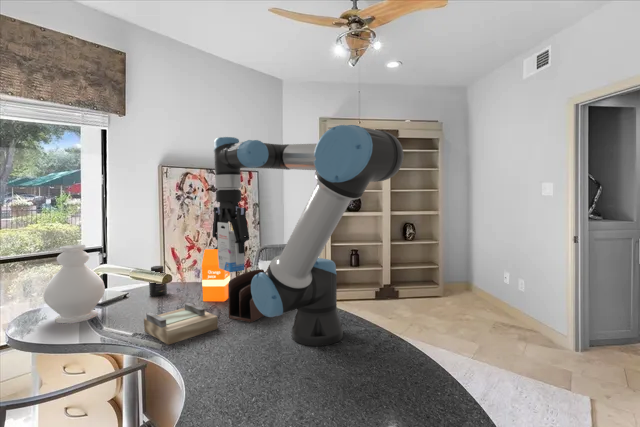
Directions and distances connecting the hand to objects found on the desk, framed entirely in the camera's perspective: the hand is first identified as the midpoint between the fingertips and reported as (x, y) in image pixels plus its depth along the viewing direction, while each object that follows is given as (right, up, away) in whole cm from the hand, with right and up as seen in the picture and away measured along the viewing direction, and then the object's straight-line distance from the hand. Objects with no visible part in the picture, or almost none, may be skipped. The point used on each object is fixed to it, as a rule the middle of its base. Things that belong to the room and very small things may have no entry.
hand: (231, 262), depth 115 cm
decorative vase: (-58, -22, +15) cm, 63 cm away
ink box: (0, -3, 0) cm, 3 cm away
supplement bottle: (-40, -19, +41) cm, 61 cm away
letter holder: (+5, -20, +18) cm, 28 cm away
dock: (-16, -21, +2) cm, 27 cm away
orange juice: (-14, -19, +35) cm, 42 cm away
